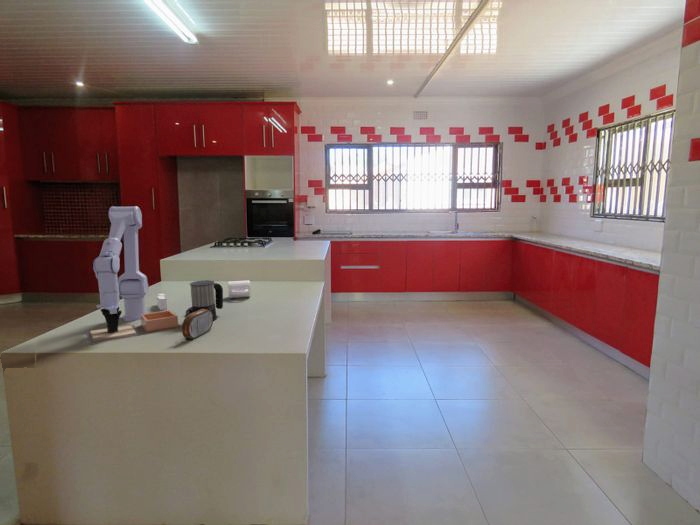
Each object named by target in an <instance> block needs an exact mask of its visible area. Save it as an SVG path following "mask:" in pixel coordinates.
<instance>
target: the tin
mask: <svg viewBox="0 0 700 525" xmlns="http://www.w3.org/2000/svg"><path fill="white" fill-rule="evenodd" d="M182 321H183V322H182V326H181V333H182V336H183V338H185V339H191V340H194V339H197V338H199V337H201V336H203V335H205V334H206V333H208V332H209V331H210V330H211V329H212V327H213V323H214V322H213V321H214V320H213V313H212V312H211V311H210V310H206V309H201V310H198V311H196V312H193V313H191V314H189V315H186V316H185V318H184V320H182Z"/></svg>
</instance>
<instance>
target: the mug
mask: <svg viewBox="0 0 700 525" xmlns="http://www.w3.org/2000/svg"><path fill="white" fill-rule="evenodd" d="M227 291H228V299H238V298H239V299H240V298H250V297H251V296H252V294H251V293H252V292H251V280H249V279H247V280H234V281H227Z"/></svg>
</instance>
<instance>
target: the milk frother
mask: <svg viewBox="0 0 700 525" xmlns="http://www.w3.org/2000/svg"><path fill="white" fill-rule="evenodd" d="M189 286H190V295H191V296H190V297H191V307H189V308H187V310H186V311H185V315H186V316H187V315H189V314H191V313H193V312H196V311H198V310H201V309H206V310H210V311H211V312H212V313H213V321H215V320H217V319H218V316H217V310H216V309H219V310H220V309H221V310H222V309H223V307H224V289H223V287H222V285H221V284H220V283H217V282H215V280H196V281H193V282H190V283H189Z"/></svg>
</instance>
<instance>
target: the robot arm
mask: <svg viewBox="0 0 700 525" xmlns="http://www.w3.org/2000/svg"><path fill="white" fill-rule="evenodd" d="M142 213H143V212H142V211H141V209H140V207H139V206H137V205H135V206H113V205H112V206H110V207H109V210H108V218H109V221H110V222H109V223H111V224H110V230H109V234H108V238H106V239H105V240H104V241H103V243H102V247H101V249H100V253H99V256H97V257H96V258H94V260H93V263H92V264H93V266H92V267H93V268H92V269H93V271H94V274H95V278H96V279H97V283H98V291H99V301H100V302H99V303H100V304H97V305H96V308H97V309H100V311H101V314H102V316H103V317H104V319H105V323H106V325H107V324H108V327H109V330H110V332H113V331H117V329H118V326H119V321H120V317H121V315H122V312H123V311H122V310H120V306H121V304H122V303H121V302H120V300H121V299H123V307H124V315H122V317H121V318H123V319H124V321H125V322H127V323H128V322H132V321H138V320H140V321H141V317H140V315H142V314H147V313H146V301H145V296H146V295H147V294H148V293H149V282H148V277H147V275H146V274H144V273H142V272H141V271H140V264H139V263H140V262H139V230H140V229H141V228H142V227H143V215H142ZM122 237H123V244H122V242H121V239H122ZM123 246H124V247H123ZM122 247H123V248H122ZM122 249H124V250H123V252H124V273H122V274H121V275H120V276H119V277H118V272H120V268H121V267H120V266H121V265H120V260H121V259H120V255H121V251H122ZM120 297H121V299H120Z"/></svg>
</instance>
